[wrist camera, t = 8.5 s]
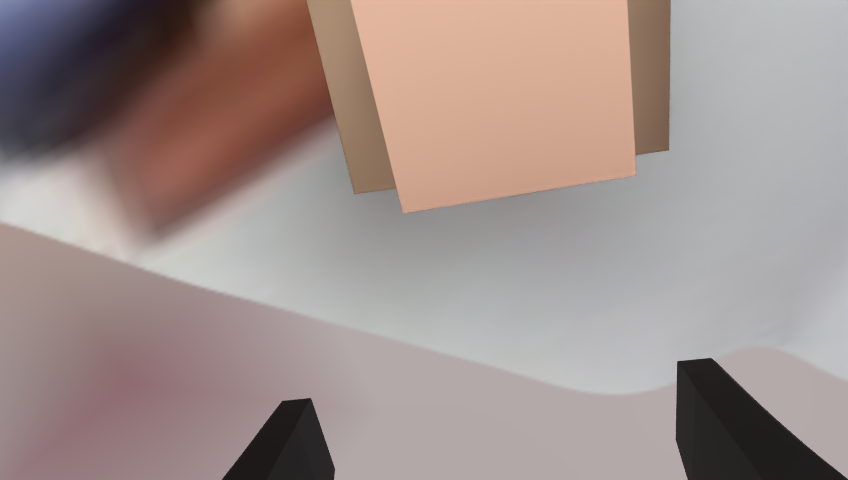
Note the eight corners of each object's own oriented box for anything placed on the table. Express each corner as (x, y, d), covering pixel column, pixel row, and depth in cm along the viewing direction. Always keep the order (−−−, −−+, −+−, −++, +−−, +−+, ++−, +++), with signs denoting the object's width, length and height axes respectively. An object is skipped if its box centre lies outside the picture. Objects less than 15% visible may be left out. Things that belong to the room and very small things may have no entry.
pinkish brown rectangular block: (554, -102, 17) (623, -88, 10) (570, 65, 19) (636, 175, 12) (389, -65, 17) (343, -27, 10) (422, 93, 19) (402, 213, 12)
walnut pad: (663, -239, 16) (672, -245, 15) (661, 141, 21) (668, 150, 20) (275, -157, 17) (267, -159, 16) (357, 184, 22) (354, 194, 21)
